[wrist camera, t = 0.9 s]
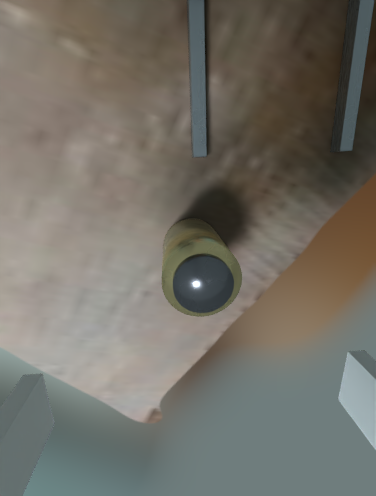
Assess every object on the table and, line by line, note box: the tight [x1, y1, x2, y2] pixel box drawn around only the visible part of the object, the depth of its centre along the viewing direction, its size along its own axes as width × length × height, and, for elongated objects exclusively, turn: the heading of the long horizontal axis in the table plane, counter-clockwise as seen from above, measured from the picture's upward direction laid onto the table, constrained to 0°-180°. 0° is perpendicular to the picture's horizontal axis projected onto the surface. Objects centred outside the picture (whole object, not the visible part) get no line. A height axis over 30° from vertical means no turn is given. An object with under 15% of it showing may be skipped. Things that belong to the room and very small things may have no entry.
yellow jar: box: [162, 218, 242, 316], centre depth 23 cm, size 6×6×10 cm
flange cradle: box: [187, 0, 374, 157], centre depth 19 cm, size 21×15×6 cm
